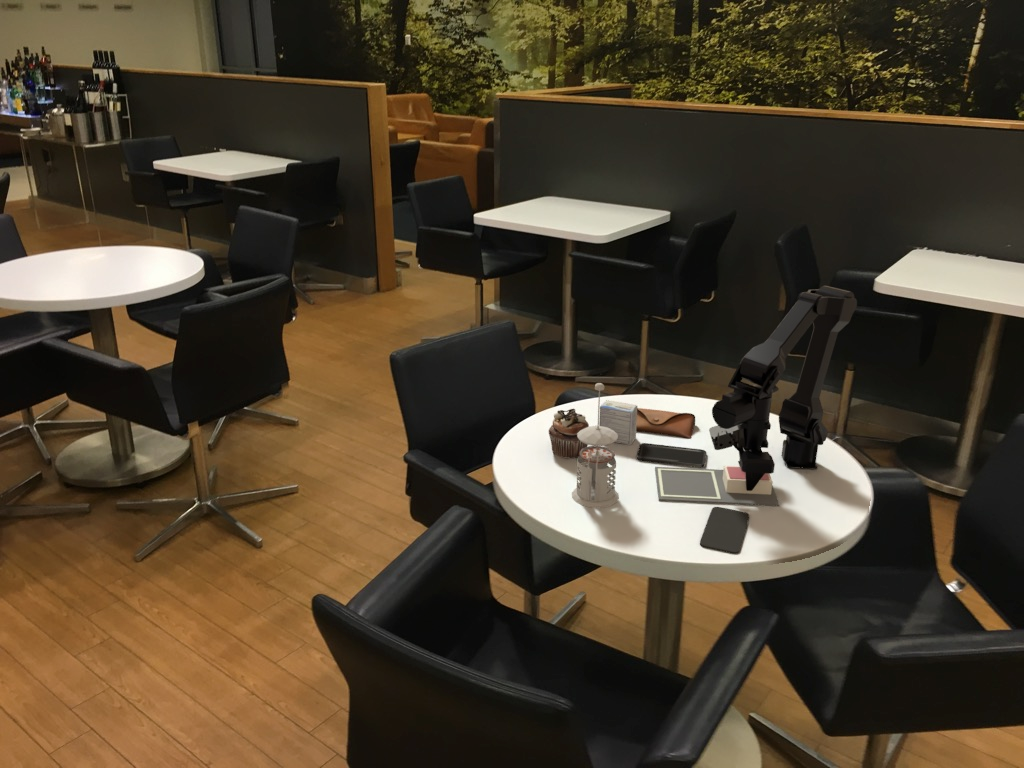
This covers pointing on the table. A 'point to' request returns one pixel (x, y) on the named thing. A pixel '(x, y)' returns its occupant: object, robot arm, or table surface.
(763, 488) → the card deck
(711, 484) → the mat
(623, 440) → the medicine box
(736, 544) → the phone
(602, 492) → the french press
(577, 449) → the cupcake
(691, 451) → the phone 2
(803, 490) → the table surface
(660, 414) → the sunglasses case
